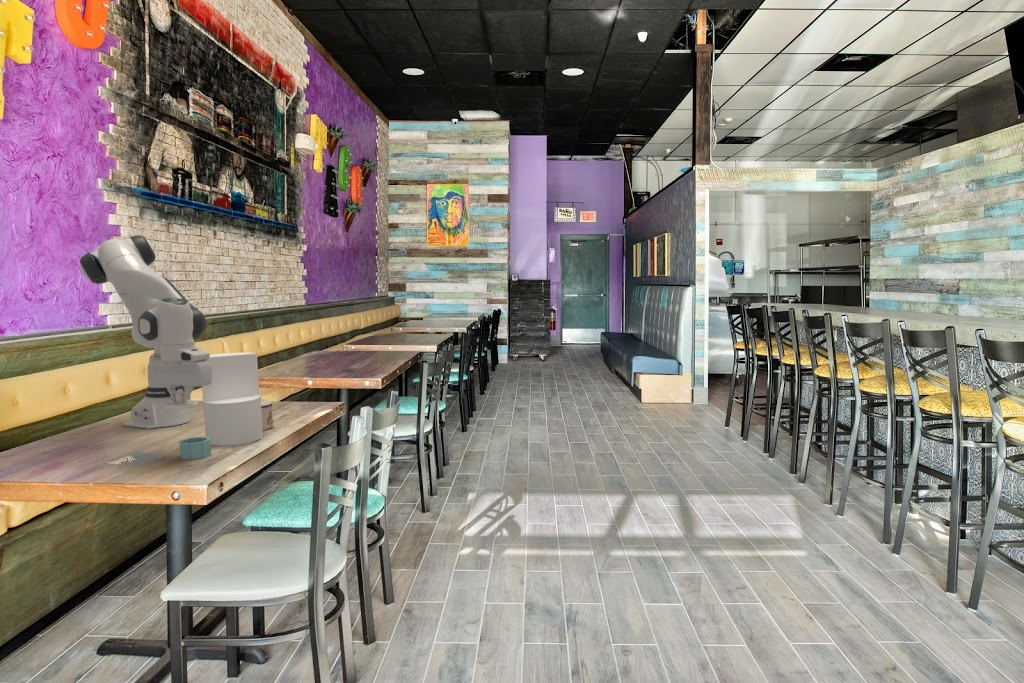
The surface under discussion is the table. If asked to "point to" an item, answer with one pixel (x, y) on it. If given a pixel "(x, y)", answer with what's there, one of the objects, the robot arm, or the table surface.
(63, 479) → the table surface
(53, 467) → the table surface
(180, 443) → the cup
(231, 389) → the cylinder
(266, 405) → the teacup with lid
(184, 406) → the lid
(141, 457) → the mat
